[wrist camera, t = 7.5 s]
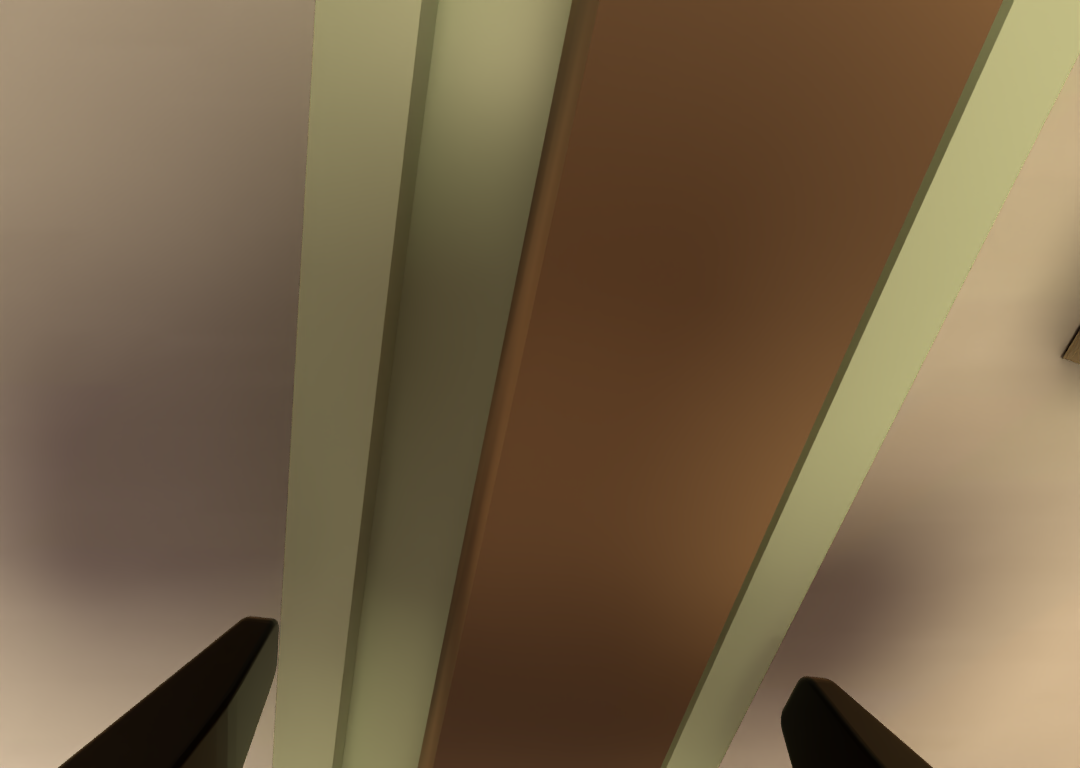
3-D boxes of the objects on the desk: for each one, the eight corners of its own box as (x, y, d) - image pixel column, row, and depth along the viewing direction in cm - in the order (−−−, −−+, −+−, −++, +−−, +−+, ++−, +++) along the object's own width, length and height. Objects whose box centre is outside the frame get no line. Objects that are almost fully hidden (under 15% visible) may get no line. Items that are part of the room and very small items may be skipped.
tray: (591, 907, 15) (602, 995, 13) (287, 895, 14) (259, 990, 12) (1061, -160, 7) (1237, -259, 5) (393, -410, 5) (350, -639, 4)
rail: (523, 870, 13) (530, 1060, 10) (397, 864, 13) (369, 1061, 10) (821, 7, 7) (1049, -101, 4) (585, -63, 6) (651, -241, 3)
